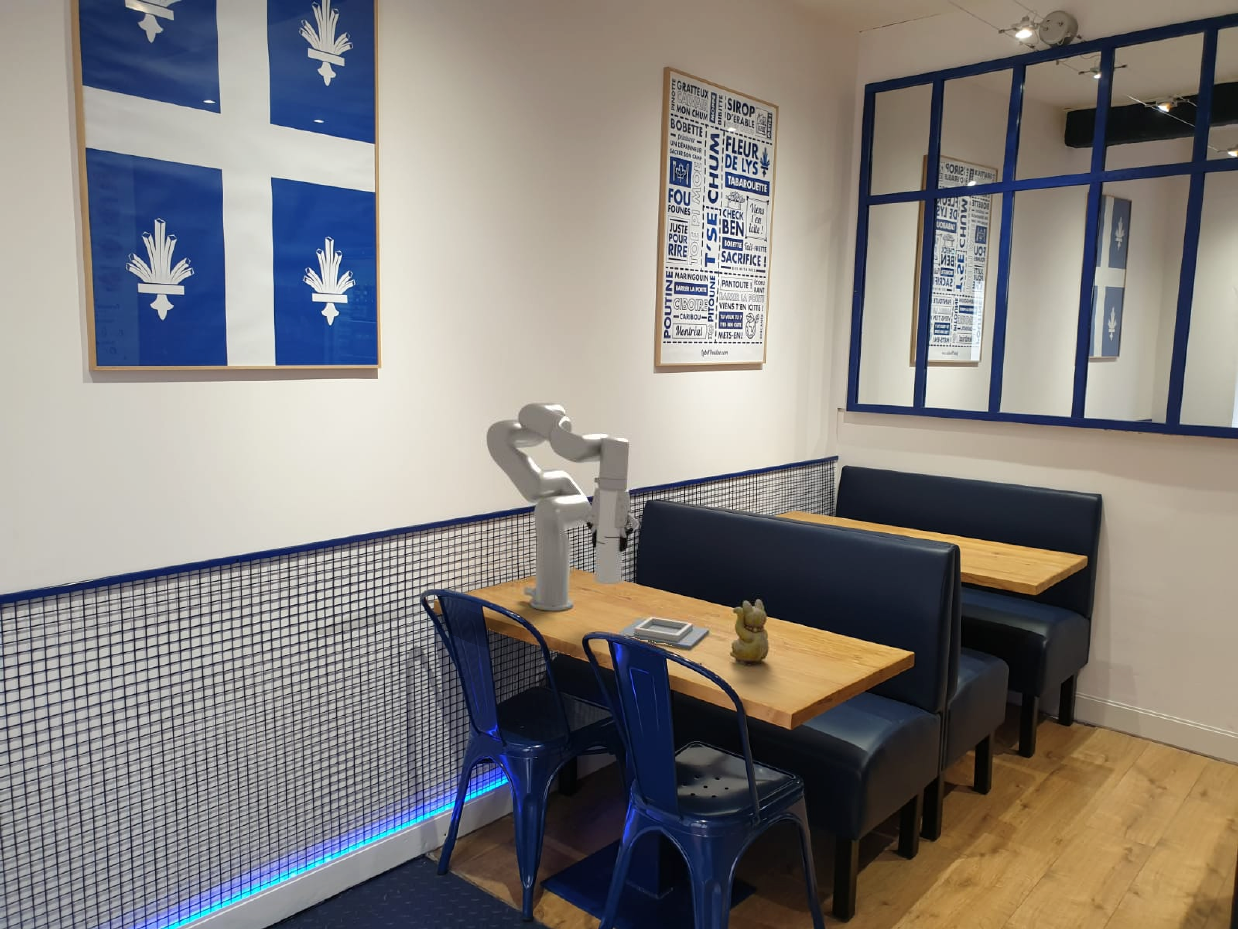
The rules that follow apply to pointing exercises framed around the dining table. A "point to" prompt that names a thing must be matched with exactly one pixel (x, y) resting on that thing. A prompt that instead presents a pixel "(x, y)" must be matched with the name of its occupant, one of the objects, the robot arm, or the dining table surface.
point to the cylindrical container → (608, 542)
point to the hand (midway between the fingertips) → (609, 548)
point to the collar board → (666, 632)
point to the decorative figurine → (750, 634)
